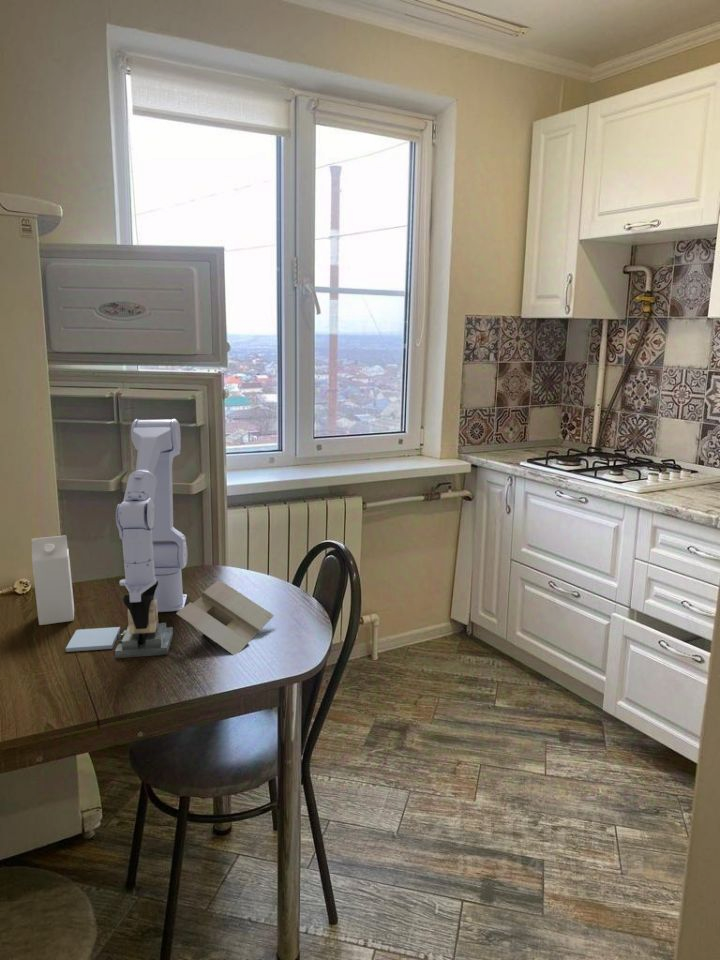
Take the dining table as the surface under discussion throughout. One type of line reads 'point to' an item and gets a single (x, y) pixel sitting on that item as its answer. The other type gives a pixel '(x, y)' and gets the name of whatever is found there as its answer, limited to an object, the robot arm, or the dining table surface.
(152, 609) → the wooden cube
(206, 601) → the beige slotted board
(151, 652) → the vise
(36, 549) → the milk carton
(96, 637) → the mat
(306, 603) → the dining table surface
